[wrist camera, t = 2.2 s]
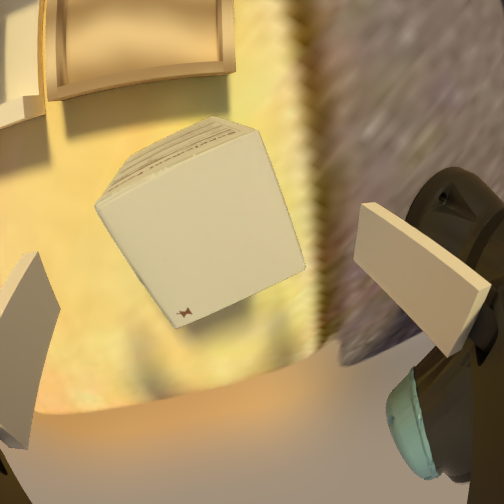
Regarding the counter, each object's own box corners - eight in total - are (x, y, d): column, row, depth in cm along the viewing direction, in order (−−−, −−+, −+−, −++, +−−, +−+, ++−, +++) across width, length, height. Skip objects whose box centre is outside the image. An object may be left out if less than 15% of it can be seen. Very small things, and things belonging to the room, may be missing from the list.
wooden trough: (227, 75, 20) (235, 71, 18) (62, 100, 18) (47, 101, 15) (223, -59, 14) (231, -76, 12) (65, -37, 12) (54, -51, 9)
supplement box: (247, 194, 26) (311, 273, 15) (166, 231, 25) (172, 336, 15) (215, 112, 22) (263, 125, 11) (126, 153, 21) (87, 208, 11)
